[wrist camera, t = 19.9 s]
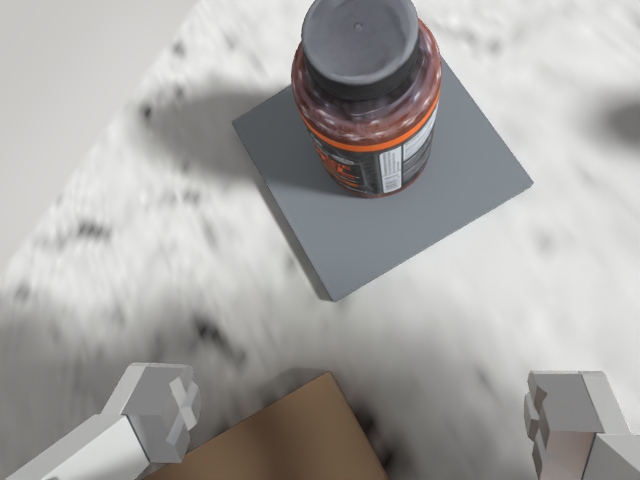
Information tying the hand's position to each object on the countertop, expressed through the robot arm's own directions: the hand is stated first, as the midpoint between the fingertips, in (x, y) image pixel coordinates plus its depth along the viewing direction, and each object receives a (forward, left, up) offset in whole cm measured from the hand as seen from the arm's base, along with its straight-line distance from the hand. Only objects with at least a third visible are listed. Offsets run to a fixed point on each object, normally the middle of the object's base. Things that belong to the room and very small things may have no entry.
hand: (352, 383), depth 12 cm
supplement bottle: (-6, -10, -14) cm, 18 cm away
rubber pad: (-5, -10, -15) cm, 18 cm away
